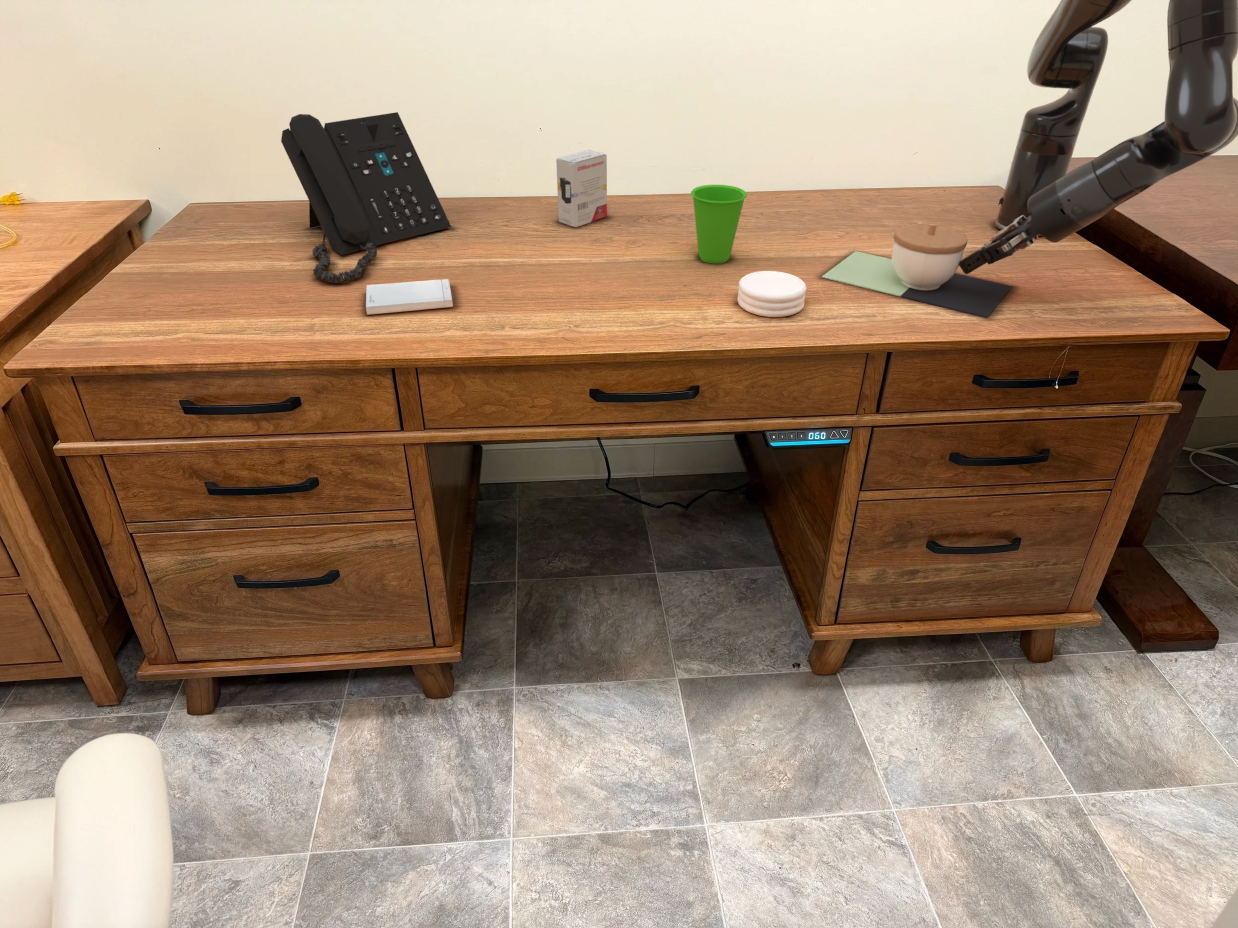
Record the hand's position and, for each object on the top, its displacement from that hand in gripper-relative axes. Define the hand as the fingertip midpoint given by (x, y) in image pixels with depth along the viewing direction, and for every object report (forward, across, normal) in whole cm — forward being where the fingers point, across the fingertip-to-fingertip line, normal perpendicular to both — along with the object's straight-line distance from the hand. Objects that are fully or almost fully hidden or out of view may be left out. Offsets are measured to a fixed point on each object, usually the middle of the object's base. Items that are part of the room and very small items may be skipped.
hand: (963, 267), depth 128 cm
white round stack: (+18, +21, -12) cm, 30 cm away
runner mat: (+7, 0, -2) cm, 8 cm away
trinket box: (+7, 0, -1) cm, 7 cm away
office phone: (+66, +38, -61) cm, 98 cm away
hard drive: (+50, +52, -44) cm, 84 cm away
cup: (+30, +10, -24) cm, 39 cm away
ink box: (+50, +7, -45) cm, 68 cm away
